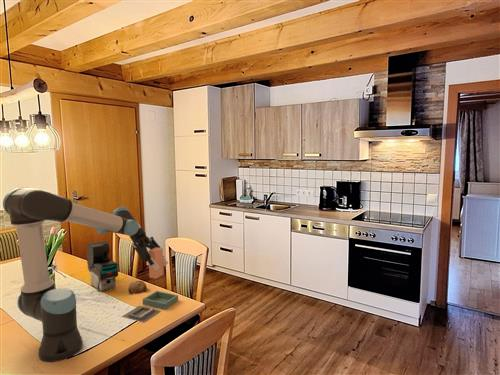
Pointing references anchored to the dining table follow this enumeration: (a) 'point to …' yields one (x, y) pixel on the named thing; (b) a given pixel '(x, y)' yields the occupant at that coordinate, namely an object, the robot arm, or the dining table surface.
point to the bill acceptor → (101, 266)
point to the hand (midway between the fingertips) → (162, 266)
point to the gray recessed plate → (141, 314)
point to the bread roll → (137, 287)
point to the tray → (160, 300)
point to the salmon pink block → (158, 258)
